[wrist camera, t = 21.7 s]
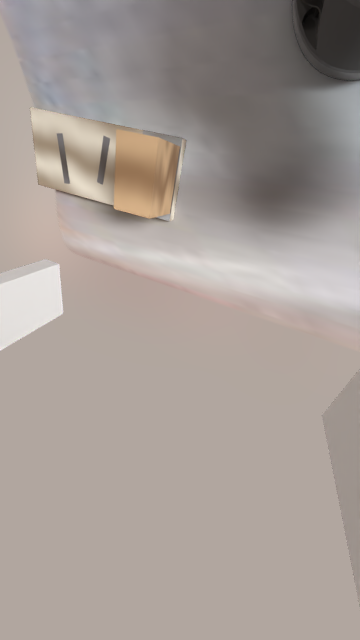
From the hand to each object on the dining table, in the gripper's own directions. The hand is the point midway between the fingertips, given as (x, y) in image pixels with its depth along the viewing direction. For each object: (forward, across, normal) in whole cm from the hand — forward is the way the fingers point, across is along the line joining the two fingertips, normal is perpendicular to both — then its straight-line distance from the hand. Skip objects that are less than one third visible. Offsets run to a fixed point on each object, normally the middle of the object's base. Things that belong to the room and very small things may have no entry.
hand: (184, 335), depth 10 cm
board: (+29, -24, +4) cm, 37 cm away
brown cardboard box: (+27, -14, +4) cm, 31 cm away
